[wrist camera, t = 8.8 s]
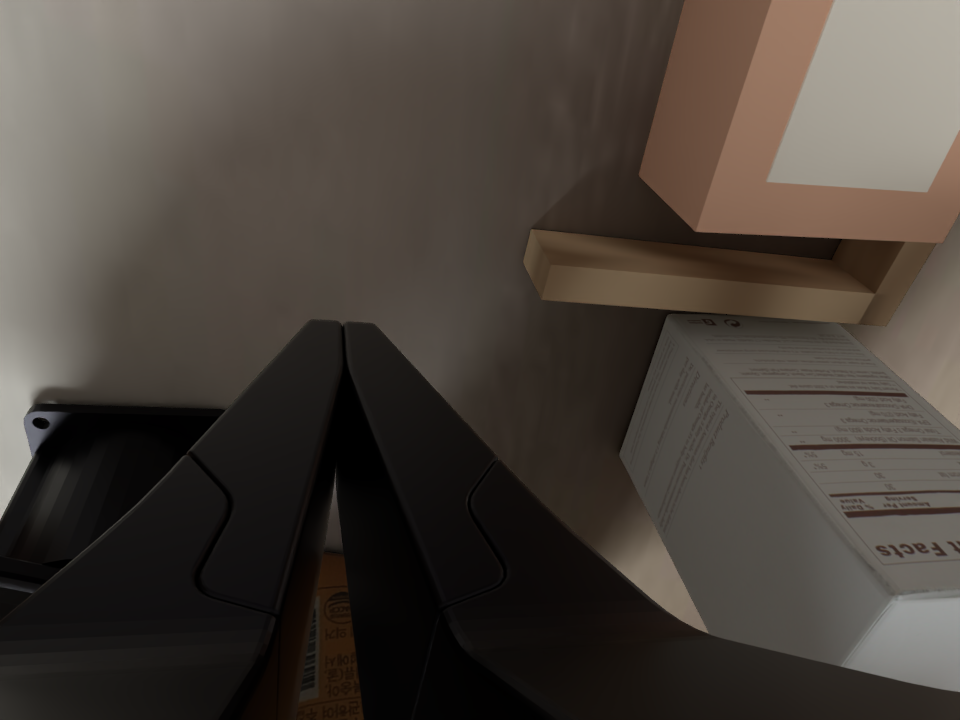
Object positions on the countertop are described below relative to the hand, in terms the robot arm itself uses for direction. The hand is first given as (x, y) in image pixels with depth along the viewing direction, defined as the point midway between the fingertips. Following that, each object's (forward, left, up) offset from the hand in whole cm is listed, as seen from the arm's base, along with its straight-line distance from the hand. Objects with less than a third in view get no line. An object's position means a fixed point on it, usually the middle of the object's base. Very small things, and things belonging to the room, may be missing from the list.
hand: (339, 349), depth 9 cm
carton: (+13, +4, -12) cm, 19 cm away
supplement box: (+16, -9, -12) cm, 22 cm away
